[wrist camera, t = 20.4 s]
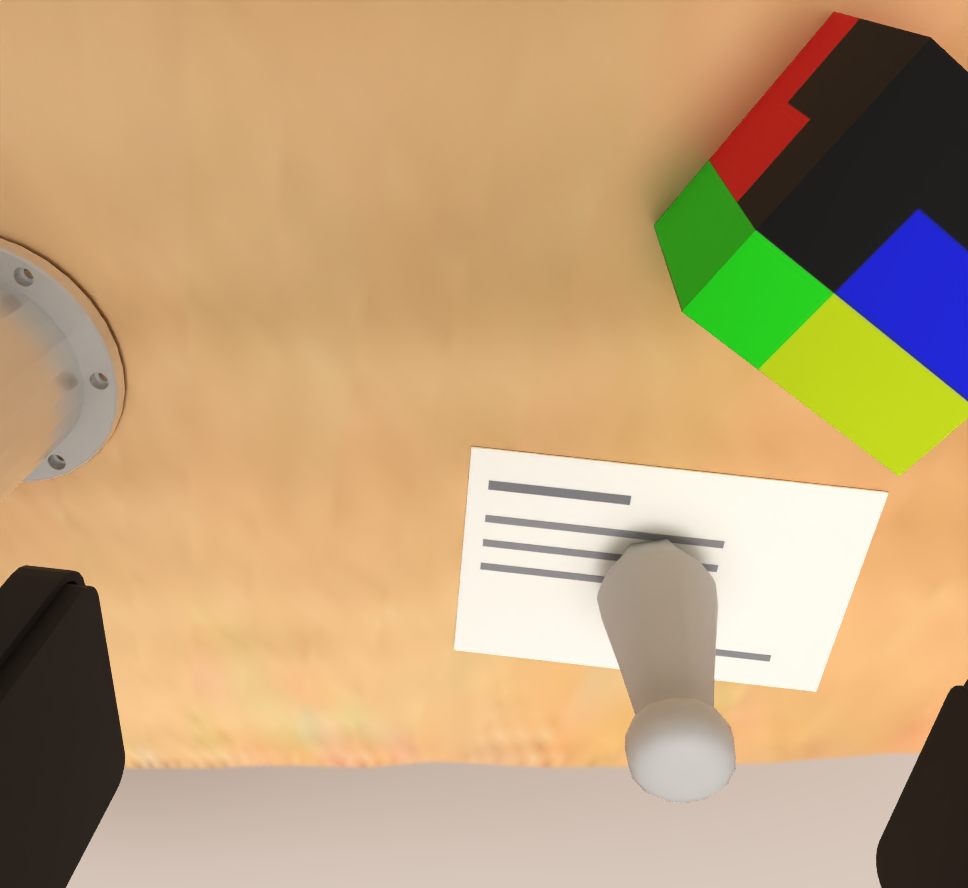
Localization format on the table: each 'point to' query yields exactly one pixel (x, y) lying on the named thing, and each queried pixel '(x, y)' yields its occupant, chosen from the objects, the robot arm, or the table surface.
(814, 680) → the letter
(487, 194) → the table surface
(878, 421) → the puzzle toy
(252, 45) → the table surface
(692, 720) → the salt shaker
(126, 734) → the table surface
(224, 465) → the table surface
